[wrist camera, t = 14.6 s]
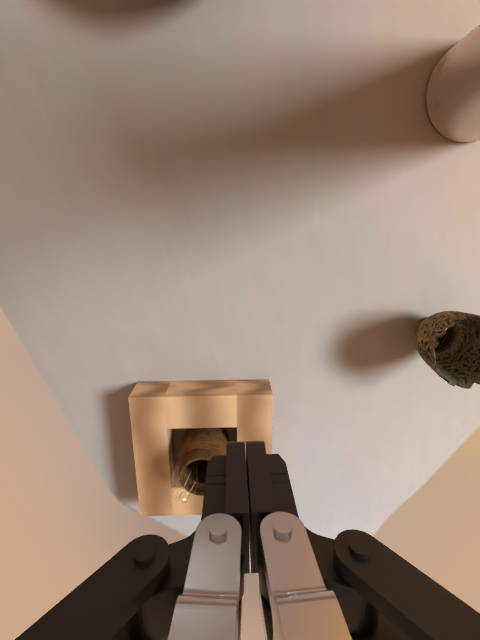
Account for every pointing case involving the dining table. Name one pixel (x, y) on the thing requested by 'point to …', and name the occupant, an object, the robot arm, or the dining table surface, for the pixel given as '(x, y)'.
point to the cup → (451, 346)
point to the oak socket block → (175, 418)
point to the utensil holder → (199, 457)
